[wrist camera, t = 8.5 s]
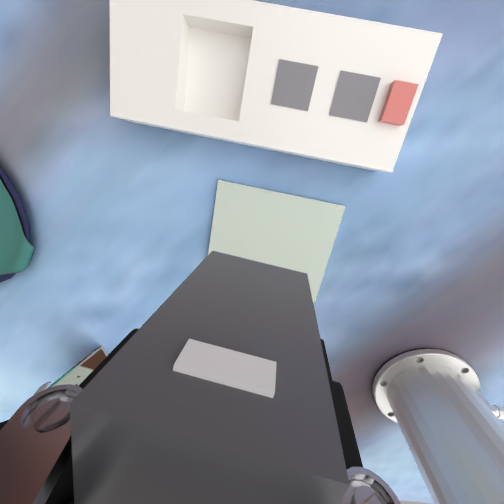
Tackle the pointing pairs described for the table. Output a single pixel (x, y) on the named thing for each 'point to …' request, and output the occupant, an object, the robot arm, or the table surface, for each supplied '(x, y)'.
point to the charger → (214, 399)
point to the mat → (275, 229)
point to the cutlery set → (12, 231)
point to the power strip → (269, 76)
